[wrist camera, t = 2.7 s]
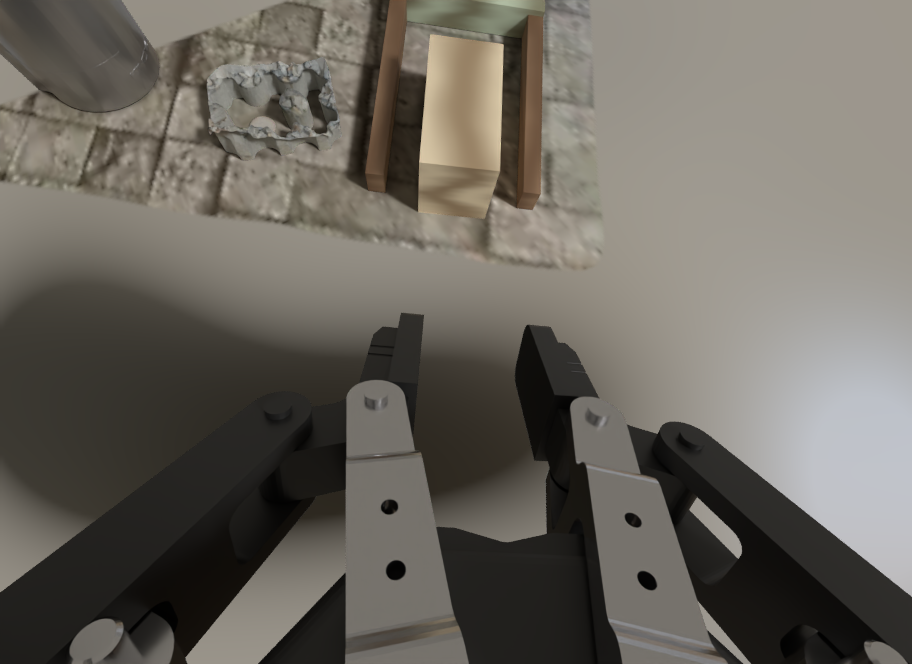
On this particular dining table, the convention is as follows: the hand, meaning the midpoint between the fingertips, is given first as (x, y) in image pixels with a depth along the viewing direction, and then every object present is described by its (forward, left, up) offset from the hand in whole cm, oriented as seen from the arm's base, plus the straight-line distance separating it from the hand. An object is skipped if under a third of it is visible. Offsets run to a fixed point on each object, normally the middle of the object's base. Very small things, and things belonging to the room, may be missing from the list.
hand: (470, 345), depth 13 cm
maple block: (0, +22, -20) cm, 30 cm away
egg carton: (-16, +24, -20) cm, 35 cm away
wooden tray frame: (0, +28, -20) cm, 34 cm away
